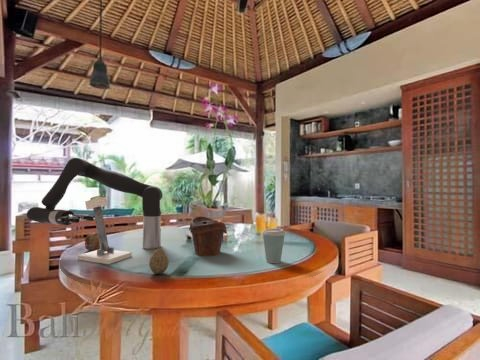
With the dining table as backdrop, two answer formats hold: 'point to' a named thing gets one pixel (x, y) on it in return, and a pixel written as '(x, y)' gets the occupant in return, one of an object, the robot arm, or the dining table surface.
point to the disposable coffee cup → (273, 244)
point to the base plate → (105, 256)
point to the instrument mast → (99, 219)
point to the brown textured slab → (92, 241)
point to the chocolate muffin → (207, 235)
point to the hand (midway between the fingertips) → (86, 219)
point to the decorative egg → (158, 262)
